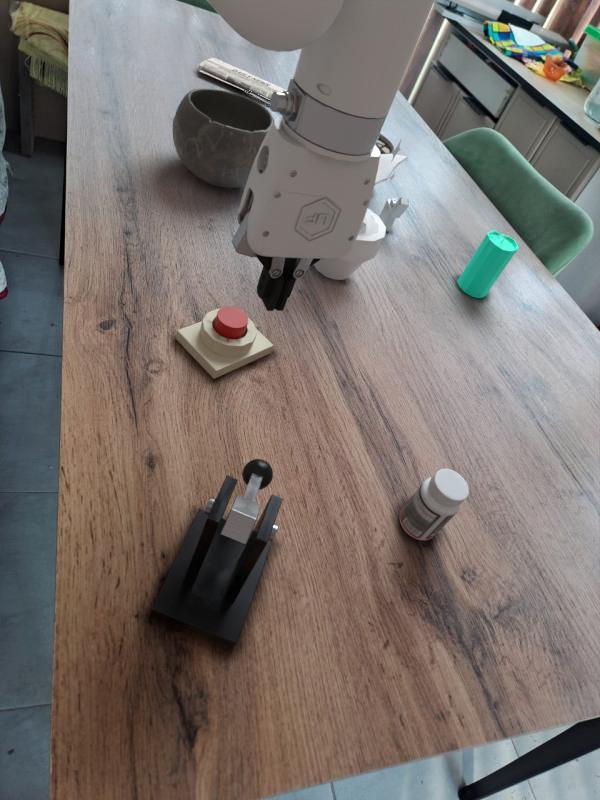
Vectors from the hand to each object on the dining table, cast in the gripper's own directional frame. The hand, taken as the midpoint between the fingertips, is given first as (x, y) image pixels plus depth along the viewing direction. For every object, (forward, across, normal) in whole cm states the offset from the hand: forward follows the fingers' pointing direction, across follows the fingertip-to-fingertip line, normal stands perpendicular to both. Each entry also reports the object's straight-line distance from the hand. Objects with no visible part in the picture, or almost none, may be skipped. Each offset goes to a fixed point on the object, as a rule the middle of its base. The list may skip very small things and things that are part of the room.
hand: (270, 301), depth 56 cm
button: (+14, +2, +10) cm, 17 cm away
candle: (+17, +54, +23) cm, 61 cm away
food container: (+17, +46, +57) cm, 75 cm away
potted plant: (+17, +26, +27) cm, 42 cm away
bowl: (+17, +13, +53) cm, 58 cm away
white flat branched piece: (+17, +44, +40) cm, 62 cm away
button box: (+17, +2, +10) cm, 20 cm away
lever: (+10, -6, -17) cm, 20 cm away
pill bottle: (+17, +17, -19) cm, 31 cm away
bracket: (+17, -8, -20) cm, 27 cm away
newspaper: (+17, +34, +95) cm, 103 cm away
